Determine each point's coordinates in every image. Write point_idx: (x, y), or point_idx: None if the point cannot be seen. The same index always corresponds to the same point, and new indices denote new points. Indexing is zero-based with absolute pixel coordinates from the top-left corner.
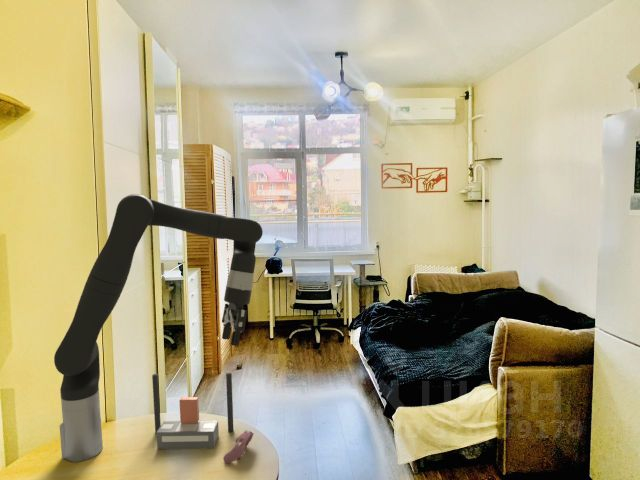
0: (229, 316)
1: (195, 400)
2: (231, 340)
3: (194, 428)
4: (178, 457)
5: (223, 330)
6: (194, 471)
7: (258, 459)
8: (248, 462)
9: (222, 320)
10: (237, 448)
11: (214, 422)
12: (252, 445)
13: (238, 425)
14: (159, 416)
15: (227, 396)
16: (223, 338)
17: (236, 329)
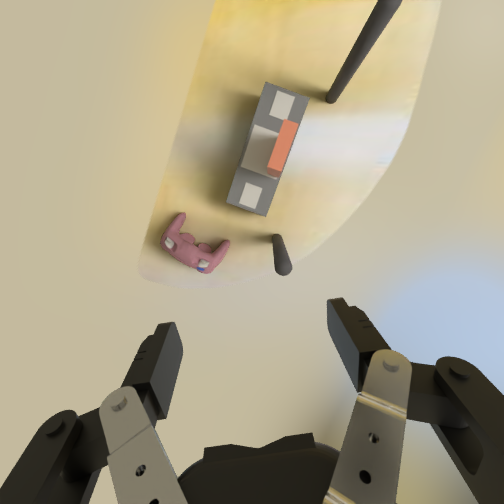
0: (301, 484)
1: (268, 163)
2: (156, 337)
3: (250, 165)
4: (224, 138)
5: (354, 328)
6: (175, 163)
7: (175, 265)
8: None
9: (455, 373)
10: (163, 237)
11: (260, 208)
12: (217, 265)
13: (291, 255)
14: (337, 86)
15: (277, 246)
16: (328, 302)
17: (42, 427)
